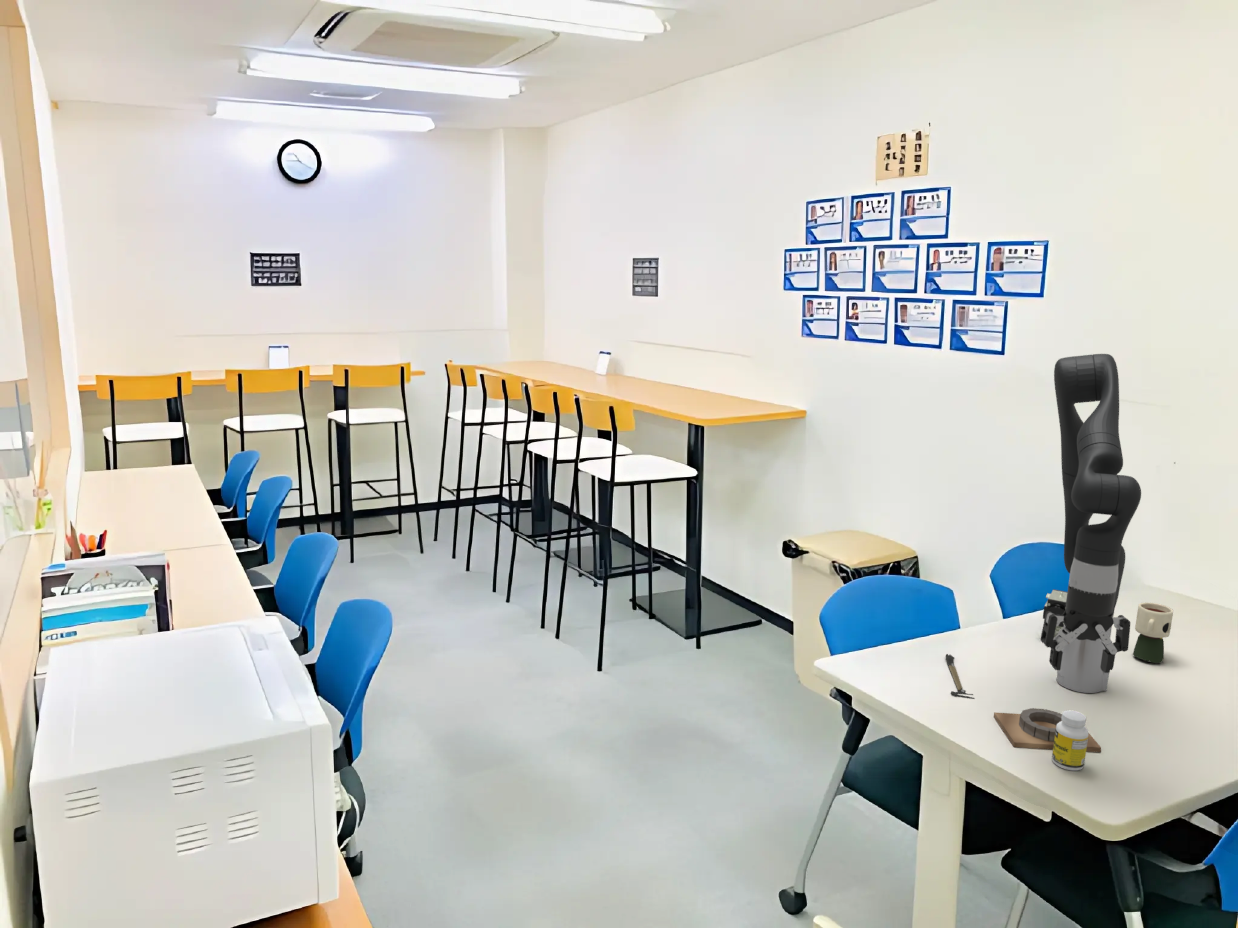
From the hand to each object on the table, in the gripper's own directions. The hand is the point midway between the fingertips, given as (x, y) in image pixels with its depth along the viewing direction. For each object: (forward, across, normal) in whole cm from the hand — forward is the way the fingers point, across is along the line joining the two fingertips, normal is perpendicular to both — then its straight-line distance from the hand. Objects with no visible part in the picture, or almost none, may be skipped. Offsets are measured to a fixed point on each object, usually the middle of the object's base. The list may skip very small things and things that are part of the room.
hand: (1080, 669), depth 166 cm
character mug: (+19, -38, -51) cm, 66 cm away
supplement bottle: (+19, 0, 0) cm, 19 cm away
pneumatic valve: (+19, -20, -62) cm, 68 cm away
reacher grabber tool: (+19, +10, -35) cm, 41 cm away
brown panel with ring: (+19, 0, -11) cm, 22 cm away
